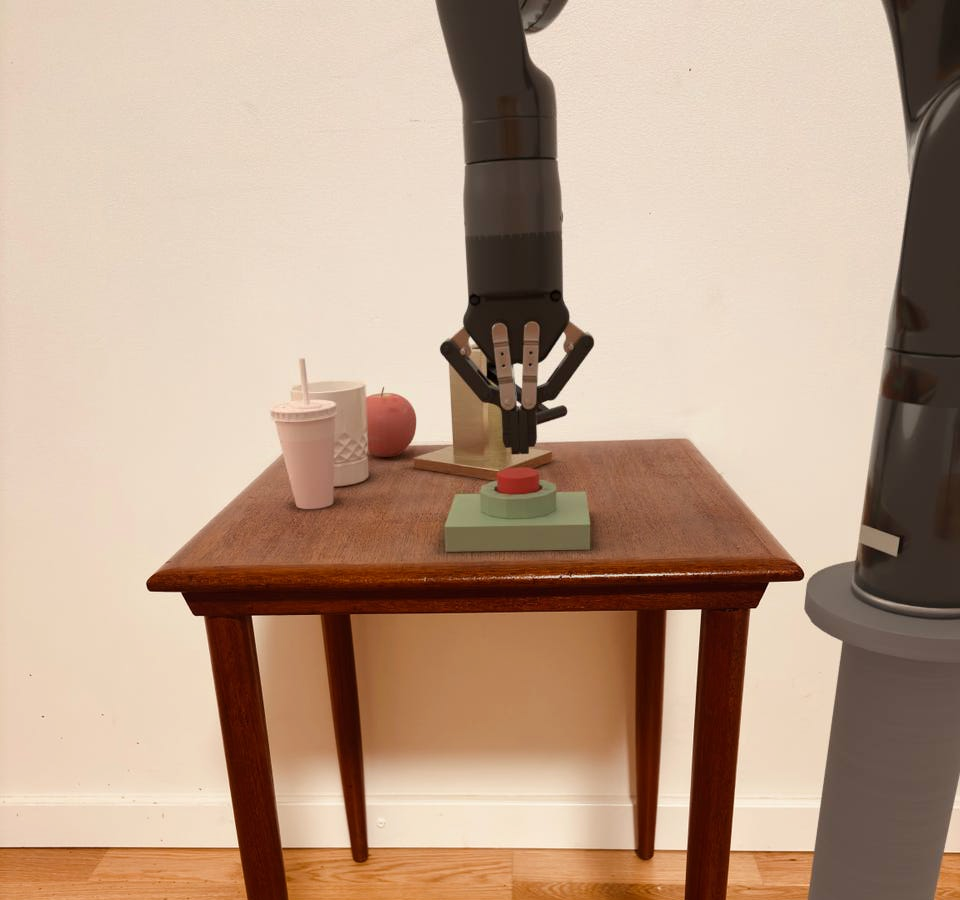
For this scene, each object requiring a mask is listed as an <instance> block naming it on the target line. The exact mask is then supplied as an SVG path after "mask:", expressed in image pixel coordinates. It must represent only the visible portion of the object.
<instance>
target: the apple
mask: <svg viewBox="0 0 960 900" xmlns="http://www.w3.org/2000/svg"><path fill="white" fill-rule="evenodd" d="M384 390H385V386H383V387H382V389H381V393H375V394H374V393H373V394H370V395H368V396H366V404H367V424H368V453H369V454H371V455H372V456H375V457H377V458H390V457H391V458H394V457H396V456H398V455H399V454H400V455H401V453H403V452H404V451H405V450H406V449H407V448H408V447H409V446H410V445H411V443H412V441H413V440H414V438H415V435H416V429H417V415H416V411H415V409H414V406H413V404H411V402H410V401H409V400H408V399H407V398H406V397H404V396H402V395H400V394H397V393H394V392H384Z"/></svg>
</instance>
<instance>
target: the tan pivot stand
mask: <svg viewBox="0 0 960 900" xmlns="http://www.w3.org/2000/svg"><path fill="white" fill-rule="evenodd" d="M470 345H471V347H472V348H475V347H478V346H477V345H476V343H472V344H470ZM469 357H470V358H471V360H472V361H473V362H474V363H475V364H476V366H477V367H478V368H479V369H480V370H481V372H482V373H483V374H484V375H485V376H486V378H487V365H486V356H485V355H484V354H483V352H482V351H481V350H480V349H472V353H471V355H470V356H469ZM495 369H496V367H495ZM448 373H449V377H448V378H449V393H450V394H449V395H450V413H451V415H450V416H451V432H452V445H450V446H446V447H444V448H440V449H437V450H434V451H431V452H430V451H429V452H427V453H425V454H420V455H418V456H414V457H413V458H412V459H413V467H414V469H418V470H423V471H430V472H437V473H441V474H442V473H443V474H449V475H456V476H461V477H468V478H473V479H479V480H480V479H481V480H487V481H492V482H493V481H497V473H498V472H499V471H501V470H504V469H509V468H531V469H536V468H539V467H542V466H544V465H547V464H549V463H552V462H553V456H552V455H553V451H552V450H544V449H537V448H531V447H529V454H514V455H512V453H511V448H505V446H504V443H503V433H502V412H501V410H500V408H499V407H498V406H496V405H494V404H491V403H484V402H482V401H481V400H480V399H479V398H478V397H477V396H476V394H475V393H474V392H473V391H472V390H471V388H470V387H469V386H468V385H467V384H466V382H465V381H464V380H463V379H462V378H461V377H460V375H459V374H458V373H457V372H456V371H455V369H454V368H453V367H452V366H451V365H450V363H449V362H448ZM489 381H490V380H489ZM490 382H491V381H490ZM491 384H492V385H493V386H496V387H498V386H497V385H495V384H494V383H493V382H491Z"/></svg>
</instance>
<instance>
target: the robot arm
mask: <svg viewBox="0 0 960 900" xmlns="http://www.w3.org/2000/svg"><path fill="white" fill-rule="evenodd" d="M434 2H435V7H436V12H437V16H438V20H439V26H440V28H441V29H440V30H441V33H442V36H443V40H444V44H445V48H446V52H447V56H448V60H449V65H450V68H451V72H452V75H453V79H454V82H455V86H456V88H457V92H458V94H459V98H460V102H461V121H462V123H461V124H462V126H461V127H462V140H463V141H462V144H463V164H464V175H463V176H464V177H463V178H464V179H463V193H462V205H463V208H462V209H463V225H464V245H465V246H464V247H465V263H466V264H465V265H466V277H467V278H466V282H467V300H468V301H467V308H466V309H465V312H464V315H463V318H462V324H463V325H462V327H461V328H459V330H458V331H457V332H455V333H454V334H453V335H452V336H451V337H448V338H446V339H445V340H444V341H442V343H441V344H440V346H439V352H440V354H441V355H442V357H443V358H444V359H445V360H446V361H447V362H448V364H449V363H450V365H451V366H452V367H453V368H454V369H455V371H456V372H457V373H458V374H459V375H460V377H461V378H462V379H463V380H464V381H465V382H466V384H467V385H468V386H469V387H470V388H471V390H472V391H473V392H474V393H475V394H476V396H477V397H478V398H479V399H480V400H481V401H482V402H484V403H491V404H494V405H496V406H498V407H499V408H500V410H501V412H502V433H503V443H504V446H505V448H511V453H512V455H514V454H529V448H535V446H536V443H537V441H538V425H537V420H536V409H537V407H538V406H539V405H540V404H541V403H542V404H543V403H545V402H548V401H550V402H551V401H555V400H556V399H557V397H558V396H559V395H560V393H561V392H562V390H563V389H564V388H565V386H566V385H567V384H568V383H569V381H570V380H571V378H572V376H574V374H575V373H576V372H577V370H578V369H579V367H580V366H581V365H582V363H583V362H584V360H585V359H586V358H587V356H588V355H589V354H590V352H591V351H592V349H593V348H594V346H595V339H594V337H593V334H592V333H590V332H588V331H584V330H583V329H581V328H580V327H579V326H578V325H576V324H574V322H572V320H570V318H571V316H570V311H569V309H568V307H567V305H566V303H565V300H564V274H563V273H564V271H563V270H564V269H563V267H564V266H563V263H564V262H563V261H564V260H563V222H564V212H563V208H562V207H563V199H562V196H563V195H562V186H561V180H560V179H561V178H560V173H559V172H560V171H559V162H558V157H559V156H558V120H557V119H558V104H557V103H558V102H557V93H556V88H555V85H554V82H553V80H552V79H551V77H550V76H549V75H548V74H547V73H546V72H545V71H543V70H542V69H541V68H540V67H538V66H537V64H535V63H534V62H533V61H534V60H533V59H532V58H531V55H530V52H529V48H528V47H529V46H528V42H527V37H526V36H532V35H537V34H540V33H541V32H543V31H544V30H546V29H548V28H549V27H550V26H551V25H552V24H553V23H554V22H555V21H556V20H557V18H558V17H559V16H560V15H561V13H562V12H563V10H564V9H565V7H566V6H567V4H568V3H569V0H434ZM880 2H881V5H882V8H883V11H884V14H885V18H886V23H887V26H888V31H889V34H890V39H891V44H892V49H893V55H894V60H895V61H894V62H895V67H896V72H897V80H898V87H899V93H900V100H901V108H902V115H903V124H904V133H905V143H906V153H907V154H906V156H907V157H906V159H907V171H908V179H909V186H908V195H907V201H906V208H905V215H904V222H903V223H904V224H903V229H902V230H903V231H902V238H901V247H900V253H899V259H898V265H897V272H896V273H897V274H896V277H895V284H894V289H893V294H892V298H891V304H890V306H889V307H890V308H889V312H888V313H889V314H888V320H887V329H886V336H885V337H886V338H885V347H884V351H883V358H882V365H881V372H880V379H879V386H878V387H879V388H878V394H877V402H876V408H875V416H874V424H873V432H872V437H871V438H872V440H871V447H870V453H869V461H868V468H867V474H866V475H867V476H866V482H865V491H864V496H863V504H862V512H861V518H860V519H861V520H860V526H859V534H858V542H857V550H856V557H855V559H854V561H855V566H854V570H855V571H854V574H853V576H852V582H851V591H852V593H853V594H854V596H855V597H857V598H858V599H859V600H861V601H862V602H864V603H866V604H868V605H870V606H872V607H875V608H878V609H880V610H883V611H887V612H891V613H894V614H899V615H904V616H909V617H916V618H925V619H960V0H880ZM563 333H564V335H565V338H564V341H563V345H562V347H563V351H564V352H565V353H566V354H565V355H564V356H563V358H562V359H561V361H560V362H559V363H558V365H557V366H556V368H555V369H554V371H553V372H552V373H551V375H550V376H549V377H548V379H547V380H546V381H545V382H544V383H542V384H539V385H538V381H539V379H538V378H539V364H540V363H542V362H543V361H545V360H546V359H547V358H548V356H549V355H550V353H551V352H552V350H553V348H554V347H555V346H556V344H557V342H558V341H559V339H561V337H562V335H563ZM470 338H471V340H472V341H473V342H474V344H476V345H477V346H478V347H479V349H480V350H481V351H482V352H483V354H484V355H485V356H486V358H487V359H488V360H489V361H490V362H491V363H493V364H495V365H496V369H497V378H498V383H499V387H496V386H493V385H492V384H491V382H490V381H489V380H488V379H487V378H486V376H485V375H484V374H483V373H482V372H481V370H480V369H479V368H478V367H477V366H476V364H475V363H474V362H473V361H472V360H471V358H470V357H469V356H470V355H471V353H472V347H471V345H472V344H471V343H470ZM516 364H519V365H522V373H521V375H522V377H521V378H522V379H521V388H522V397H521V404H520V405H517V403H518V401H517V400H516V399H517V395H516V386H515V384H516V378H515V377H516V376H515V365H516Z"/></svg>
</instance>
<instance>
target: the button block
mask: <svg viewBox="0 0 960 900" xmlns="http://www.w3.org/2000/svg"><path fill="white" fill-rule="evenodd" d="M587 495H588V494H587V491H557V484H555V483H553V482H551V481H548V480H546V479H545V480H544V479H539V491H538V492H535V493H529V494H518V495H509V494H502V493H498V491H497V481H493V480H492V481H491V482H487V483H485V484H484V485H481V486H480V489H479V493H455V495H454V498H453V500H452V503H451V506H450V508H449V512H448V515H447V518H446V521H445V524H444V527H443V530H444V549H445V552H446V553H455V552H457V553H458V552H459V553H460V552H461V553H462V552H522V551H523V552H525V551H527V552H528V551H529V552H530V551H532V552H533V551H534V552H535V551H589V550H591V517H590V511H589V502H588V496H587Z"/></svg>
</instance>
